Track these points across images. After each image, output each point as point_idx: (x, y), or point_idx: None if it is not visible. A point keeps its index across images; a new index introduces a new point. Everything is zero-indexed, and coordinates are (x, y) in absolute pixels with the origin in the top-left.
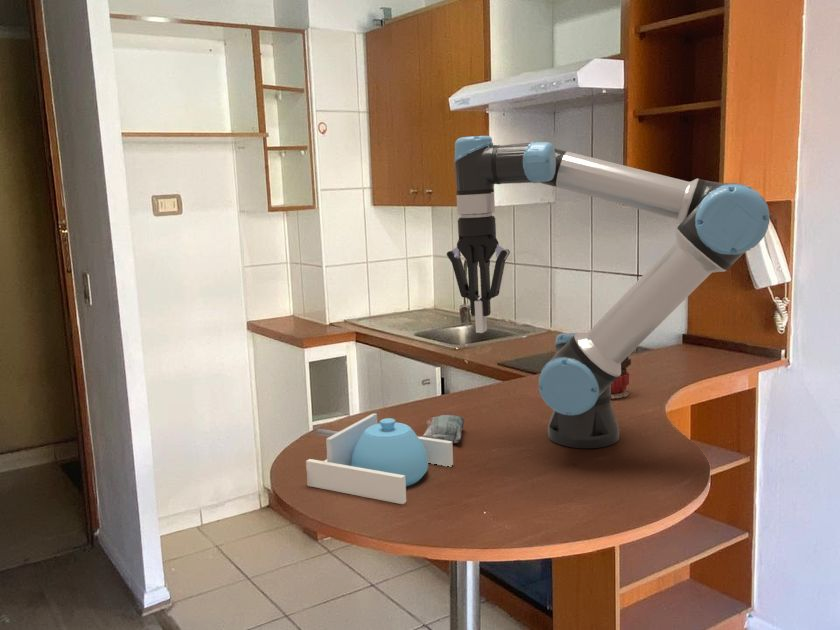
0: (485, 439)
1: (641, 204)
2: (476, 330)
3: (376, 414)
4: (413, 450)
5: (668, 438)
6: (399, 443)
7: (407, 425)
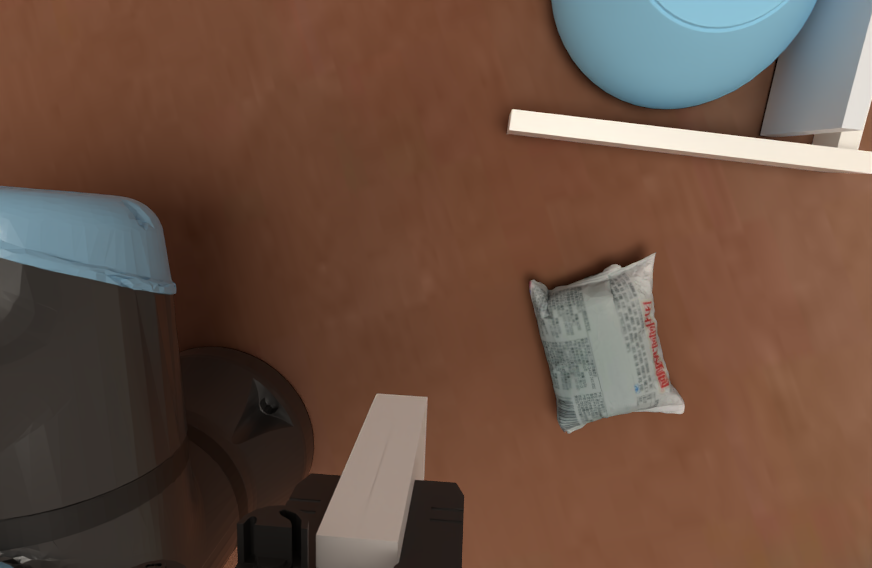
0: (475, 360)
1: None
2: (420, 402)
3: (842, 123)
4: None
5: None
6: None
7: (662, 2)
